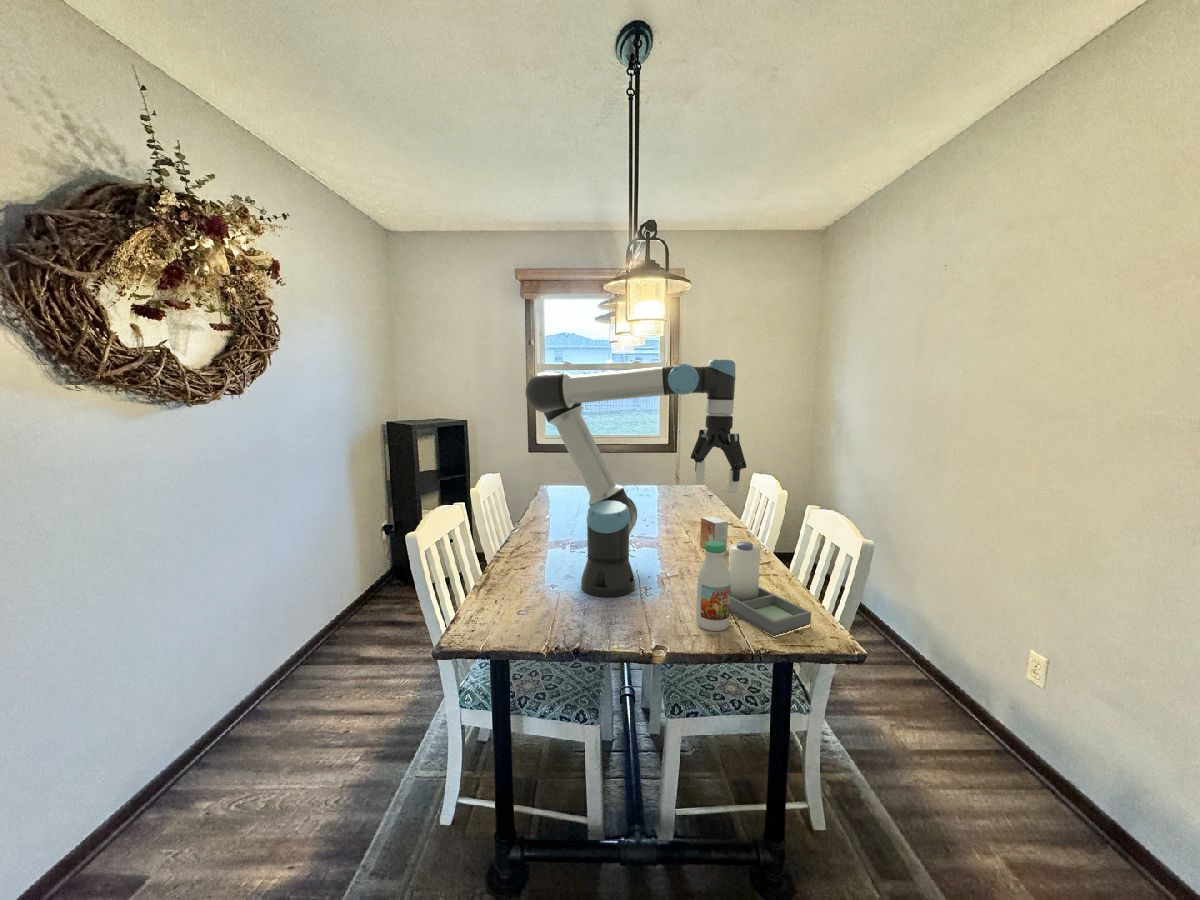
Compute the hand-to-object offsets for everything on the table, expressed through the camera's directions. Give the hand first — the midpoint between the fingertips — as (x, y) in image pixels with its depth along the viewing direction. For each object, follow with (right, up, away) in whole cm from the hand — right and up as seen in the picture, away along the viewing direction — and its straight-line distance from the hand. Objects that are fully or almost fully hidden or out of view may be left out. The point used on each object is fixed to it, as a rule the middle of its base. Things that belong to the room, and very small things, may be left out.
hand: (715, 488), depth 146 cm
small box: (+6, -24, +29) cm, 38 cm away
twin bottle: (+3, -28, -15) cm, 32 cm away
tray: (+6, -30, -20) cm, 36 cm away
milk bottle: (-7, -31, -26) cm, 41 cm away
